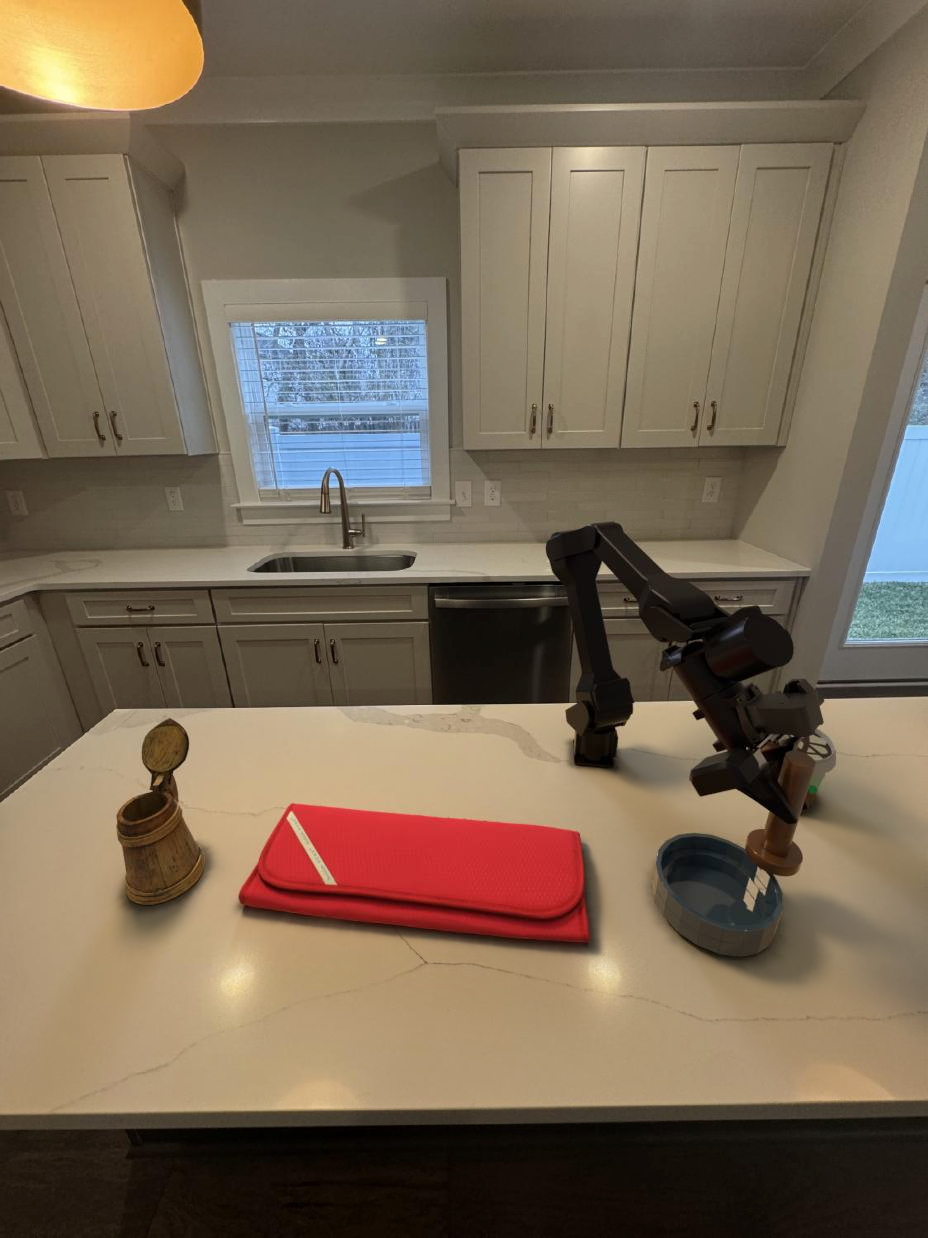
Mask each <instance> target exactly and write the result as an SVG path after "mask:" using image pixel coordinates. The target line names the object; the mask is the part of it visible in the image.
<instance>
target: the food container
mask: <svg viewBox="0 0 928 1238" xmlns="http://www.w3.org/2000/svg"><path fill="white" fill-rule="evenodd" d="M788 736H789V738H790V737H794V736H793V735H788ZM796 751H799V752H802V753H805V754H807V755H809V756H811V757H812V758H813V759H814V760H815V762H816V765H815V768H814V771H813V775H812V778H811V781H810V785H809V788H808V791H807V794H806V799H807V802H808V805H809V808H808V809H810V808H811V806H812V804H813V802H814V799H815V798H816V795H817V793H818V791H819V788H820V786H821V784H822V783H823V780H824V778H825V775H826V774H827V773H830V772H831V771H833V770H834V768H835V767H836V765H837V751H836V747H835V744H834V742H833V741H832V739H831V738H830V737H829V736H828V735H827V734H826V733H825V732H823V731H822V730H821V729H819V728H818V727H817V728H816V729H815V733H814V734H813V735H811V736H808V737H802V739H801V741H800V743H799V745H798V748H797V750H796ZM808 809H807V810H808ZM805 811H806V810H802V811H801V813H802V812H805Z"/></svg>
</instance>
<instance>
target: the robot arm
mask: <svg viewBox="0 0 928 1238" xmlns="http://www.w3.org/2000/svg"><path fill="white" fill-rule="evenodd" d="M545 554H546V557H547V559H548V561H549V565H550V568H551V573H552V575H554V576H555V577H556V578H557V579H558V580H559V581H560V583H561V584H562V585H563V586H564V589H565V592H566V598H567V602H568V609H569V613H570V619H571V623H572V629H573V634H574V639H575V644H576V649H577V654H578V660H579V664H580V670H581V674H580V678H579V680H578V683H577V686H576V689H575V700H576V703H575V704H573V705H572V706H570V707H568V708H566V709H565V710H564V711H565V721H566V723H567V724H568V725H569V727H571V729H573V730H574V738H573V739H572V756H573V764H574V765H578V766H587V767H588V766H589V767H601V768H609V769H612V768H614V767H615V762H614V761H615V760H614V759H616V758H617V754H618V746H619V745H618V743H619V734H618V730H617V728H618V727H625V726H626V724H627V723H628V721H629V720H630V718H631V716H632V715H633V713H634V704H635V700H634V697H633V694H632V689H631V681H630V680H629V679H628V677H621V675H620V674H619V673H618V672H617V671H616V670H615V668H614V666H613V661H612V656H611V650H610V646H609V640H608V636H607V630H606V626H605V621H604V616H603V612H602V611H603V610H602V607H601V605H602V604H601V601H600V595H599V590H598V586H597V577H598V574H599V572H600V569H601V566H602V564H604V565H605V566H606V567H607V568H608V570H610V571H611V573H612V574H613V575H614V576H615V577H616V578H617V579H618V581H619V582H621V584H622V585H623V586H624V587H625V588H626V589H627V591H629V593H631V595H632V596H633V597H634V598H635V600H636V601H637V603H638V604H637V605H638V616H639V618H640V620H641V621H642V623H643V625H644V626H645V627H646V629H647V630H648V632H649V634H650V635H651V636H652V638H653V639H655V640H656V641H657V642H659V643H675V642H676V643H677V644H684V643H687V644H684V645H683V646H678V645H676V644H672V645H671V646H668V647H667V648H665V649H663V650H662V651H661V654H662V656H661V659H660V662H659V667H658V669H659V671H660V672H662V673H664V672H666V671H668V670H670V669H672V670H673V671H674V673H675V674H676V676H677V677H678V679H679V680H680V682H681V683H682V686H683V687H684V689H685V690H686V691H687V693H688V695H689V697H690V698H691V699H692V701H693V703H694V704H695V706H696V708H697V709H695V710H694V711H692V712H691V714H692V716H693V717H694V718H695V720H696V721H700V720H702V719H703V720H705V721H706V724H708V726H709V728H710V729H711V731H712V732H713V735H714V736H715V737H716V739H717V740H715V741H714V742H713V743H712V744H711V745H712V747H713V749H714V750H715V752H716V754H713V755H710V756H706V757H705V758H704V759H702V760H701V761H700V762H698V764H696V765H695V766H694V767H693V768H692V769H691V770H690V774H689V779H688V781H689V782H690V783H691V786H692V787H693V789H694V790H695V792H696V793H697V795H698V796H699V797H700V798H701V797H706V796H711V795H716V794H719V793H724V792H729V791H732V790H737V791H738V792H740V793H741V794H743V795H745V796H746V797H748V798H750V799H752V800H753V801H754V802H756V803H757V804H759V805H760V806H761V807H762V808H764V809H766V810H767V811H768V812H769V811H770V812H771V813H773V814H774V815H776V816H777V817H779V818H780V819H781V820H783V821H784V822H786V823H787V824H796V823H797V822H798V823H799V820H798V819H797V817H796V815H795V812H794V810H793V808H792V806H791V804H790V803H789V801H788V799H787V797H786V795H785V793H784V792H783V790H782V788H781V786H780V784H779V782H778V778H779V774H780V771H781V767H782V763H783V760H784V756H785V753H786V752H788V751H796V750H797V748H798V745H799V743H800V741H801V739H802V737H808V736H811V735H813V734H814V733H815V729H816V728H817V729H818V728H819V726H822V725H824V723H825V721H824V717H823V714H822V709H821V706H822V705H823V704H824V703H825V698H824V697H823V696H821V695H820V694H819V691H818V690H817V689H815V688H814V687H813V686H812V685H811V683H809V681H808V680H807V679H806V678H792V679H790V680H789V681H787V683H785V685H784V687H783V690H782V691H781V690H776V691H775V692H774V693H763V692H762V691H761V689H760V688H759V686H758V685H757V684H754V683H753V682H749V683H747V684H745V683H744V682H743V681H746V680H749V679H752V678H754V677H757V676H761V675H762V674H765V673H768V672H770V671H773V670H777V669H778V668H782V667H785V666H786V665H788V664H789V663H790V662H791V661H792V659H793V656H794V651H795V647H794V646H795V645H794V641H793V639H792V636H791V634H790V632H789V630H788V629H786V628H784V627H783V625H782V624H780V622H779V621H777V620H776V619H774V618H772V617H771V616H769V615H767V614H763V611H762V609H761V608H760V606H759V605H757V604H755V605H749V606H744V607H741V608H739V609H738V610H736V611H734V612H733V614H731V613H730V612H728V611H727V610H725V609H723V608H722V607H720V606H718V605H717V604H716V603H715V602H714V600H713V599H712V597H711V596H710V595H709V594H707V593H706V592H705V591H703V590H702V589H700V588H698V587H697V586H695V584H692V583H691V582H689V581H686V580H683V579H680V578H677V577H674V576H671V575H670V574H668V573H667V572H666V571H664V570H663V568H661V567H660V566H659V565H658V564H657V563H656V562H655V561H654V560H653V558H651V556H649V555H648V554H647V553H646V552H645V551H644V550H643V549H642V548H641V547H640V546H639V545H638V544H637V543H636V542H634V540H633V539H631V537H630V536H629V535H628V534H626V533H625V531H624V529H623V527H622V525H621V523H619V522H615V520H614V521H601V522H591V523H590V524H589V523H588V525H585V526H583V527H581V528H577V529H569V530H561V531H554V532H552V534H551V536H550V537H549V539H547V541H546V543H545ZM701 640H702V641H701ZM688 642H689V643H688ZM788 735H793V736H794V737H790V738H789V736H788ZM808 808H809V805H808V802H807V799H806V798H805V801H804V804H803V807H802V810H805V811H807V810H808ZM809 809H810V808H809Z"/></svg>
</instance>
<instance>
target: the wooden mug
mask: <svg viewBox="0 0 928 1238" xmlns="http://www.w3.org/2000/svg"><path fill="white" fill-rule="evenodd" d="M189 750H190V737H189V734H188V732H187V730H186V729H185V727H184V726H182V725H181V724H180V723H179V722H177V721H176V720H175V719H173V718H171V717H168V718H166V719H165V720H163V721H161V722H160V723H158V724H157V725H155V726H154V727H153V728H151V729H150V730H149V731H148V732H147V734H146V735H145V736H144V739H143V742H142V745H141V760H142V764H143V766H144V767H145V769H146V770H147V771H148V772H149V773H150V774H151V776H150V777H151V778H150V785H149V791H148V792H145V793H142V794H139V795H136V796H133V797H131V798H130V799H129V800H127V801H126V802H125V803H124V804H123V805H122V806H121V807H120V808H119V809H118V811H117V813H116V815H115V816H116V824H115V830H116V837H117V841H118V842H119V844H120V845H121V849H122V855H123V861H124V862H123V863H124V867H125V876H124V882H125V893H126V895H127V897H128V899H129V900H130V901H131V902H133V903H134V904H135V903H136V904H138V905H143V906H147V905H158V904H162V903H166V902H168V901H170V900H172V899H174V898H177V897H178V896H181V895H182V894H184V893H185V892H187V891H188V890H189V889H190V888H192V887H193V886H194V885H195V884H196V883H197V881H198V880H199V879H200V877H201V875H202V874H203V871H204V869H205V866H206V856H205V853H204V851H203V849H202V847H201V845H200V844H199V843H198V841H196V840H195V838H194V836H193V834H192V831H190V829H189V826H188V825H187V823H186V821H185V819H184V816H183V809H182V807H181V805H180V803H179V791H178V785H177V781H176V778H175V776H174V771H176V770H178V769H179V768H180V767H181V766H182V765H183V763H185V761H186V759H187V757H188V754H189Z"/></svg>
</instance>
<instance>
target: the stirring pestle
mask: <svg viewBox="0 0 928 1238" xmlns="http://www.w3.org/2000/svg"><path fill="white" fill-rule="evenodd" d="M815 765H816V762H815V760H814V759H813V758H812V757H811V756H809V755H807V754H805V753H802V752H799V751H788V752H786V753H785V756H784V760H783V763H782V767H781V771H780V774H779V778H778V782H779V784H780V786H781V788H782V790H783V792H784V793H785V795H786V797H787V799H788V801H789V803H790V804H791V806H792V808H793V810H794V812H795V815H796V817H797V819H798V822H797V823H796V824H787V823H786V822H784V821H783V820H781V819H780V818H779V817H777V816H776V815H774V814H773V813H771V812H770V811H769V810H768V815H767V818H766V822H765V824H764V825H765V826H764V828H757V829H754V830H751V831H750V832H749V833H748V835H747V837H746V841H745V846H744V848H745V850H746V853H747V855H748V857H749V859H750V860H751V861H752V862H753V863H754V864H755V865H757V866H758V867H759V868H761V869H762V870H764V871H766V872H768V873H771V874H773V875H774V876H778V877H792V876H795V875H796V874H798V873H799V872H800V870H801V867H802V863H803V859H804V854H803V852H802V850H801V848H800V847H799V845H798V844H797V843H796V842H795V841H794V837H795V833H796V830H797V827H798V823H799V820H800V816H801V813H802V812H801V811H802V807H803V804H804V801H805V798H806V794H807V791H808V788H809V785H810V781H811V778H812V775H813V771H814V768H815Z"/></svg>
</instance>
